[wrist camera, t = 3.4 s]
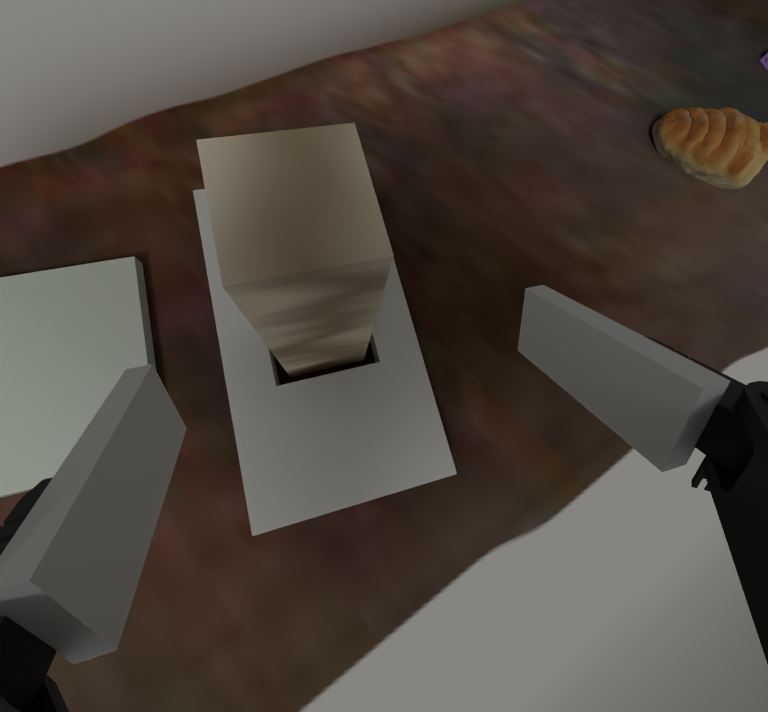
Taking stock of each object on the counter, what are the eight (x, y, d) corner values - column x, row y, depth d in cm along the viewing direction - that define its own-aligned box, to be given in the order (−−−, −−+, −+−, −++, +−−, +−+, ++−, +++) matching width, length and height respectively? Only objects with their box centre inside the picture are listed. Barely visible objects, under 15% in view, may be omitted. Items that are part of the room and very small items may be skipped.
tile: (-90, 520, 19) (-113, 525, 18) (-86, 301, 22) (-106, 294, 21) (167, 455, 21) (159, 456, 20) (142, 263, 24) (134, 256, 23)
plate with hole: (260, 527, 21) (252, 536, 19) (204, 209, 25) (192, 190, 23) (447, 471, 23) (456, 473, 21) (364, 186, 27) (366, 167, 26)
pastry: (641, 165, 32) (681, 129, 28) (647, 111, 34) (685, 70, 30) (735, 199, 32) (786, 167, 29) (736, 143, 34) (784, 107, 30)
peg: (290, 377, 23) (223, 287, 10) (275, 308, 24) (196, 139, 11) (363, 360, 24) (393, 256, 11) (346, 294, 25) (354, 122, 12)
